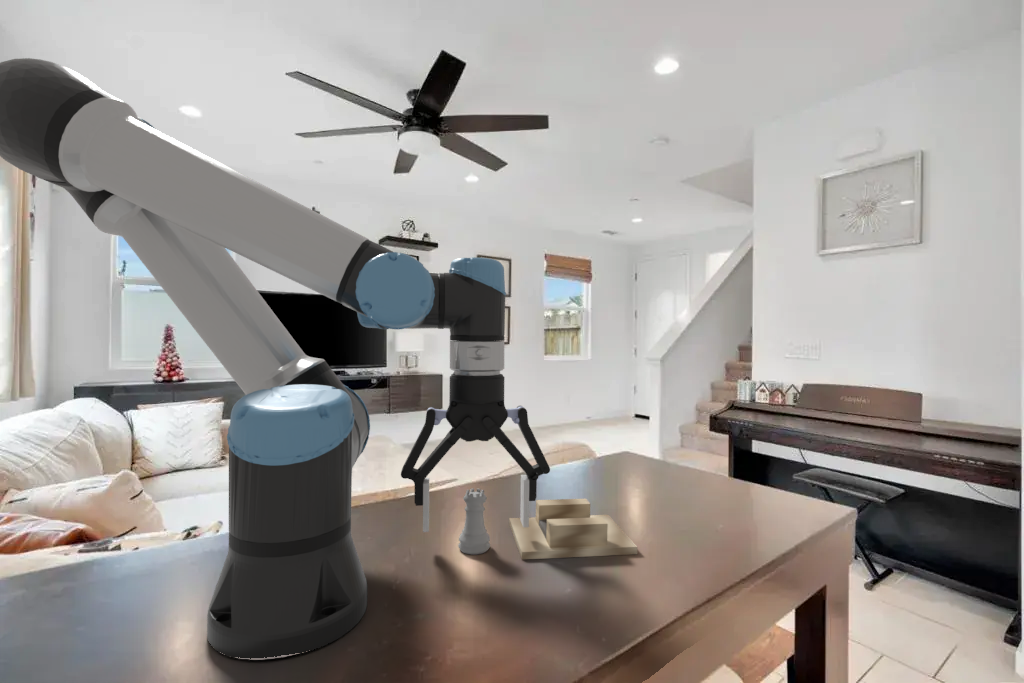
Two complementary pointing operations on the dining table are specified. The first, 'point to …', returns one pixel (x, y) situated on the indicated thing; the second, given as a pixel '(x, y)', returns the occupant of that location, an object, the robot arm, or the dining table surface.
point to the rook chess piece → (474, 525)
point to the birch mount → (569, 532)
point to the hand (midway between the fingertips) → (475, 526)
